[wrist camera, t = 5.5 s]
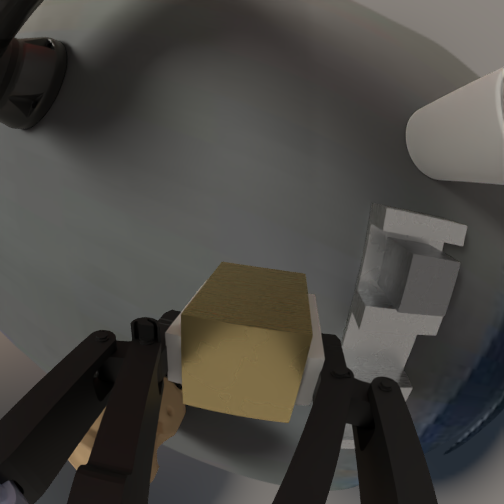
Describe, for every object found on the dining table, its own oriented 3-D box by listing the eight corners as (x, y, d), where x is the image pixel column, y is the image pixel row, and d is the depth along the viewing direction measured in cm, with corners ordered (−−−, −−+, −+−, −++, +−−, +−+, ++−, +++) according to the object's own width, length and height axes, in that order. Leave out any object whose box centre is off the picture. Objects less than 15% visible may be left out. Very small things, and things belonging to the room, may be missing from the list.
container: (141, 415, 40) (92, 492, 22) (102, 354, 37) (30, 426, 20) (205, 412, 37) (164, 511, 20) (165, 343, 35) (91, 441, 17)
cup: (406, 177, 26) (504, 181, 10) (402, 101, 24) (485, 46, 8) (467, 183, 25) (569, 196, 9) (463, 113, 23) (557, 85, 7)
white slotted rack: (371, 202, 27) (398, 211, 19) (444, 218, 26) (484, 231, 18) (314, 421, 35) (314, 464, 27) (372, 423, 34) (381, 464, 26)
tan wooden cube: (222, 261, 17) (180, 314, 11) (305, 273, 17) (313, 335, 10) (216, 332, 19) (183, 403, 12) (291, 344, 18) (288, 422, 11)
